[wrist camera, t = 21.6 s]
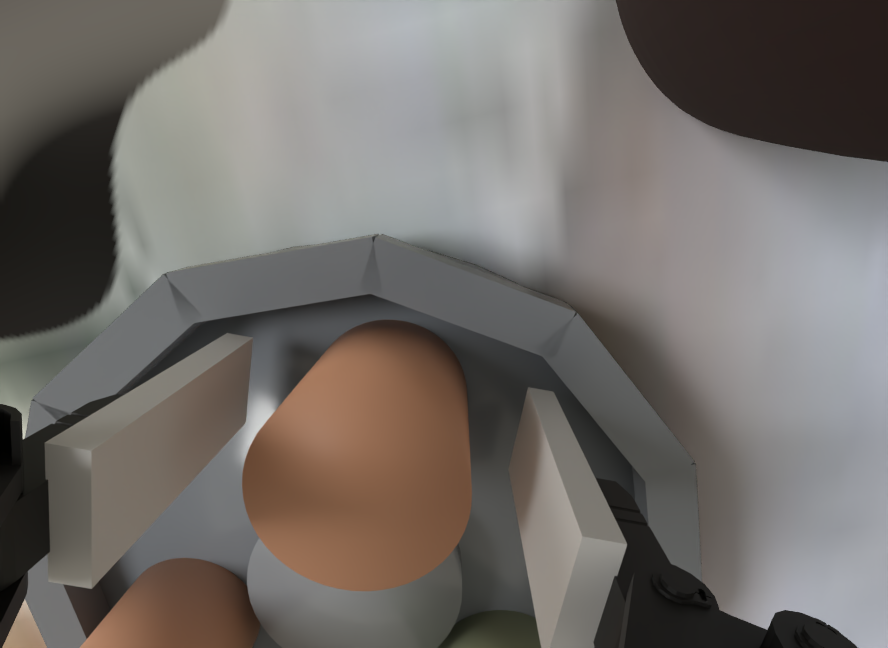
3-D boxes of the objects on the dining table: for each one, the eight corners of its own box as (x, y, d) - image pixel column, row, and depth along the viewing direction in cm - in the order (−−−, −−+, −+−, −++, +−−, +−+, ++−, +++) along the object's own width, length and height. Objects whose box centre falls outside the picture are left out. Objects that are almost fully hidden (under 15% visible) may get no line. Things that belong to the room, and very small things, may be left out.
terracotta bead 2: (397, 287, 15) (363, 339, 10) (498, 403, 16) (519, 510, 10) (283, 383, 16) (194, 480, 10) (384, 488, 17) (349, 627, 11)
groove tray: (-55, 503, 18) (-122, 544, 16) (394, 84, 14) (383, 65, 12) (348, 841, 22) (336, 909, 20) (788, 585, 18) (832, 636, 16)
